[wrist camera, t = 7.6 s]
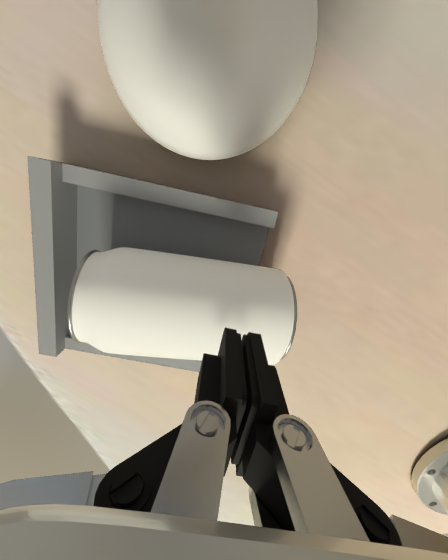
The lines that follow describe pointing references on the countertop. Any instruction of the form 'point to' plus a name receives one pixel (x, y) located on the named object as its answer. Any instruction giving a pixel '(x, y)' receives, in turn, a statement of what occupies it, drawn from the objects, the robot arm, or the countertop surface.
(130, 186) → the tray
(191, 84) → the flower in vase
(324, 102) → the countertop surface
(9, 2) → the countertop surface
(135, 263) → the can
